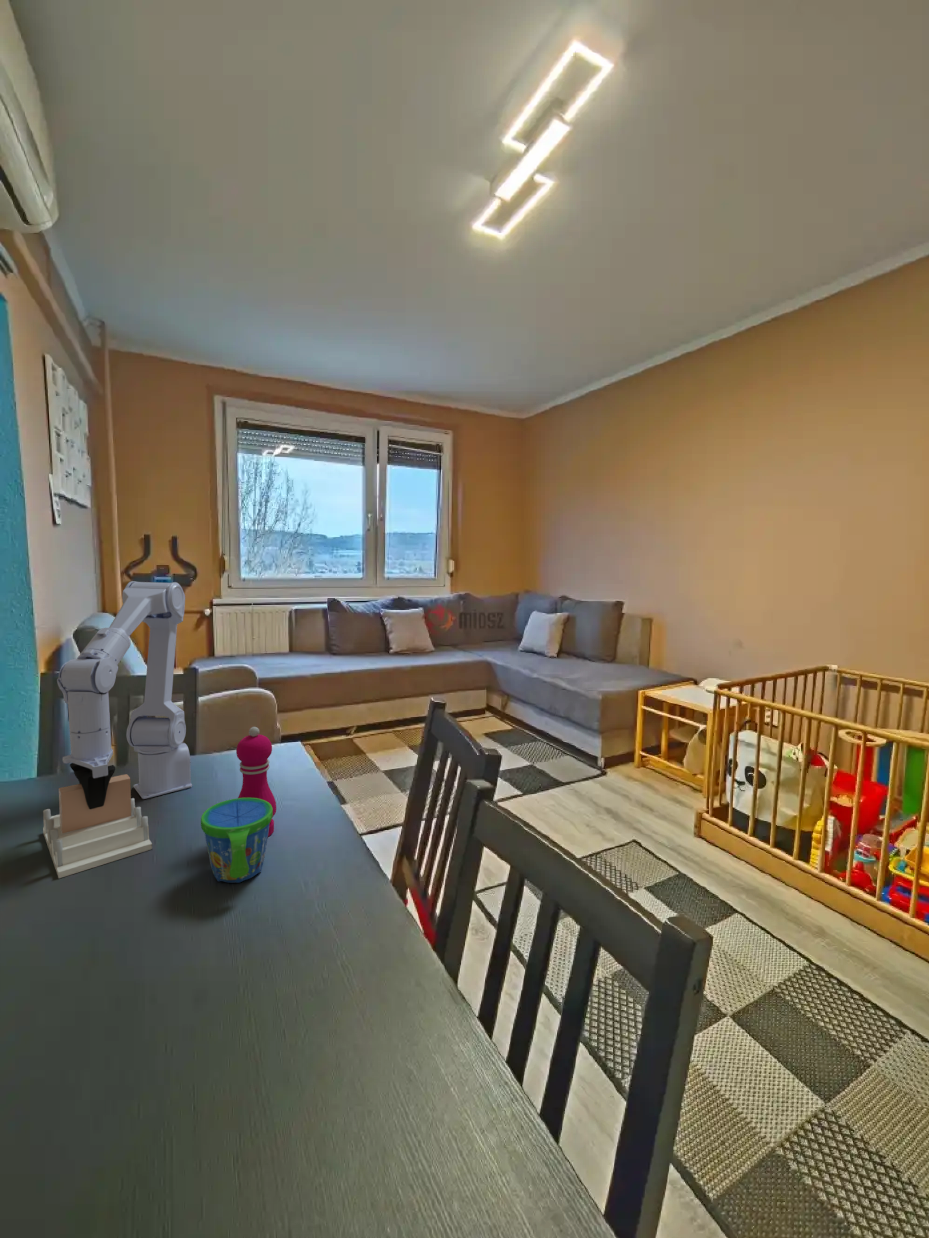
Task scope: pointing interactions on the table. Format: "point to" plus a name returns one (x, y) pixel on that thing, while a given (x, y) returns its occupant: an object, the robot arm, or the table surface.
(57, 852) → the dish rack
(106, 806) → the tile
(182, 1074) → the table surface
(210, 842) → the snack cup
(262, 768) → the pepper mill
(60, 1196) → the table surface
